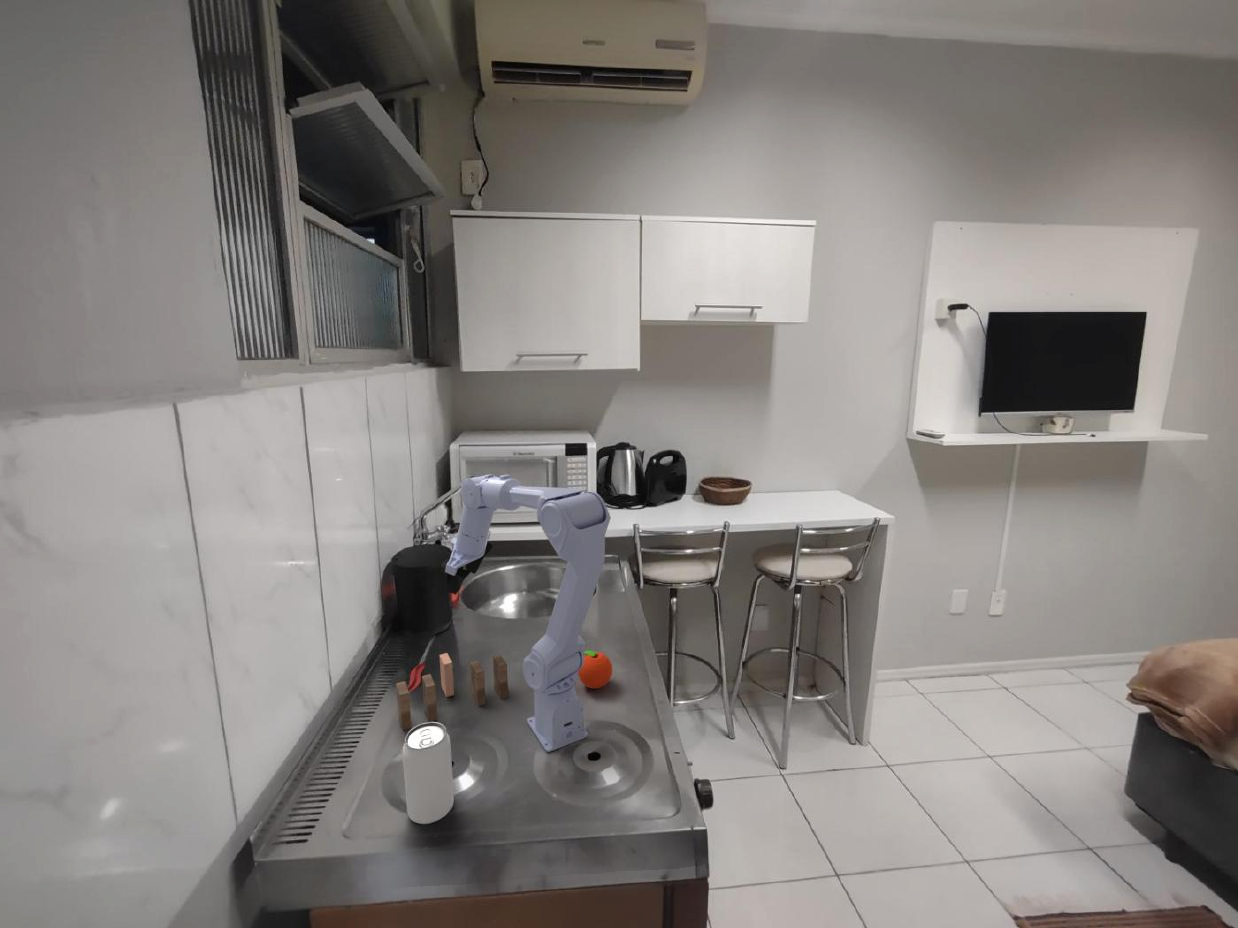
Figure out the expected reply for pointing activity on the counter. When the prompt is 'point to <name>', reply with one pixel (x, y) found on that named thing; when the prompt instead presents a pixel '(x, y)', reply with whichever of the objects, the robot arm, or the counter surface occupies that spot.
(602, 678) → the clementine
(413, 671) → the cayenne pepper
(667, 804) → the counter surface
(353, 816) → the counter surface
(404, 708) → the domino
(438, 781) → the can
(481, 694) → the domino
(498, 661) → the domino
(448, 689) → the domino
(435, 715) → the domino
